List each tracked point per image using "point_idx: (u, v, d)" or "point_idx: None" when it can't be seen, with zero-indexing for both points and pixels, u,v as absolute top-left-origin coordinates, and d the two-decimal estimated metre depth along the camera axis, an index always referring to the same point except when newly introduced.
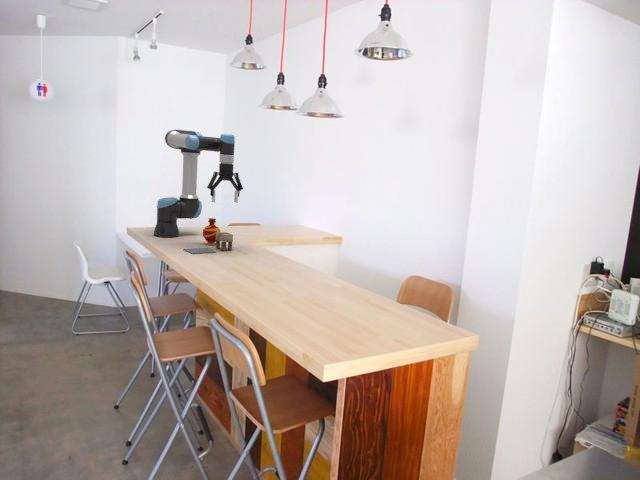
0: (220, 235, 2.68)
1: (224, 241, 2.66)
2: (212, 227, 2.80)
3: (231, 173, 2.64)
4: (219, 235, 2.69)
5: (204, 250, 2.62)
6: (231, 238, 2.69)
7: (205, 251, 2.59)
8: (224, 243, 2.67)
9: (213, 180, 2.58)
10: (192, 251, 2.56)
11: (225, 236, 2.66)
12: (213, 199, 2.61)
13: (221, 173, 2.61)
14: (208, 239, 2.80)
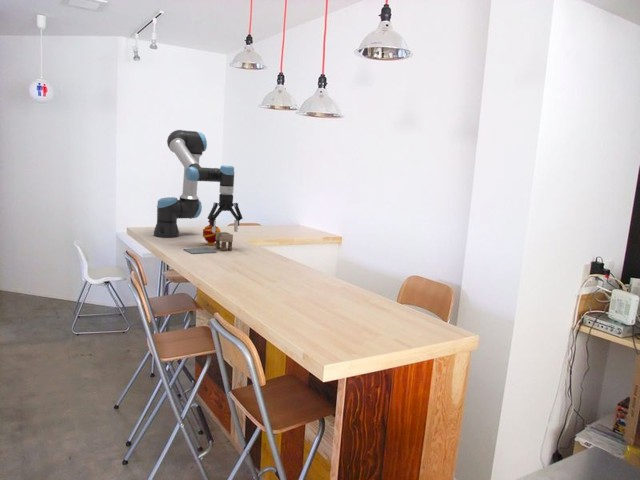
0: (220, 235, 2.68)
1: (224, 241, 2.66)
2: None
3: (231, 203, 2.68)
4: (219, 235, 2.69)
5: (204, 250, 2.62)
6: (231, 238, 2.69)
7: (205, 251, 2.59)
8: (224, 243, 2.67)
9: (213, 211, 2.63)
10: (192, 251, 2.56)
11: (225, 236, 2.66)
12: (213, 229, 2.65)
13: (221, 204, 2.65)
14: (208, 239, 2.80)
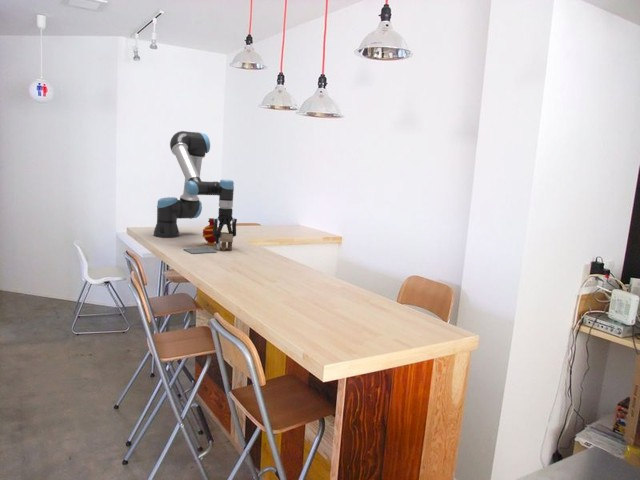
0: (220, 235, 2.68)
1: (224, 241, 2.66)
2: (212, 227, 2.80)
3: (230, 217, 2.70)
4: None
5: (204, 250, 2.62)
6: (231, 238, 2.69)
7: (205, 251, 2.59)
8: (224, 243, 2.67)
9: (215, 228, 2.65)
10: (192, 251, 2.56)
11: (225, 236, 2.66)
12: (218, 246, 2.69)
13: (220, 218, 2.66)
14: (208, 239, 2.80)
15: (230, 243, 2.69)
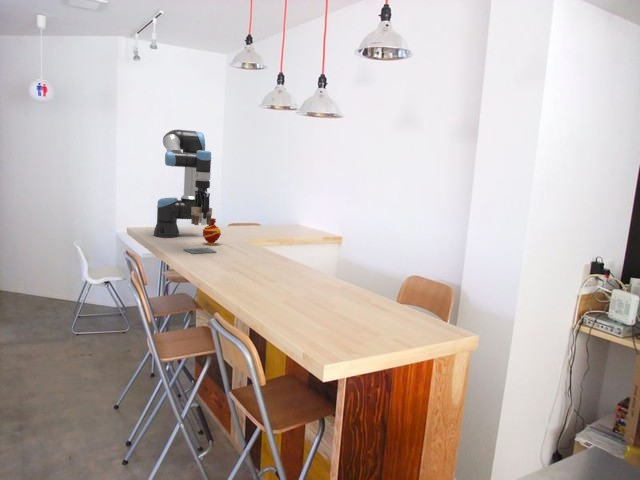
0: None
1: (192, 213, 2.57)
2: (212, 227, 2.80)
3: (202, 190, 2.53)
4: None
5: (204, 250, 2.62)
6: (195, 212, 2.53)
7: (205, 251, 2.59)
8: (192, 216, 2.57)
9: (195, 199, 2.61)
10: (192, 251, 2.56)
11: (192, 208, 2.56)
12: None
13: (197, 190, 2.58)
14: (208, 239, 2.80)
15: (195, 217, 2.54)
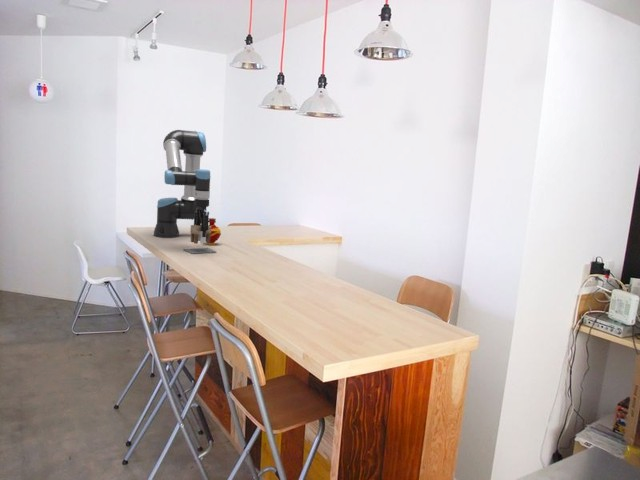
0: None
1: (191, 232, 2.58)
2: (212, 227, 2.80)
3: (202, 209, 2.55)
4: None
5: (204, 250, 2.62)
6: (194, 230, 2.55)
7: (205, 251, 2.59)
8: (191, 234, 2.59)
9: (194, 218, 2.62)
10: (192, 251, 2.56)
11: (191, 227, 2.58)
12: None
13: (197, 208, 2.59)
14: None
15: (194, 235, 2.56)
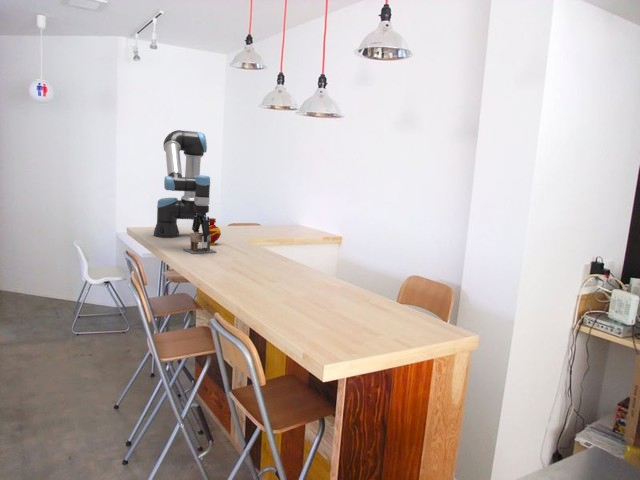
0: None
1: (191, 240, 2.59)
2: (212, 227, 2.80)
3: (201, 215, 2.55)
4: None
5: (204, 250, 2.62)
6: (194, 238, 2.56)
7: (205, 251, 2.59)
8: (191, 242, 2.59)
9: (193, 222, 2.64)
10: (192, 251, 2.56)
11: (191, 235, 2.58)
12: None
13: (196, 214, 2.60)
14: None
15: (194, 243, 2.57)
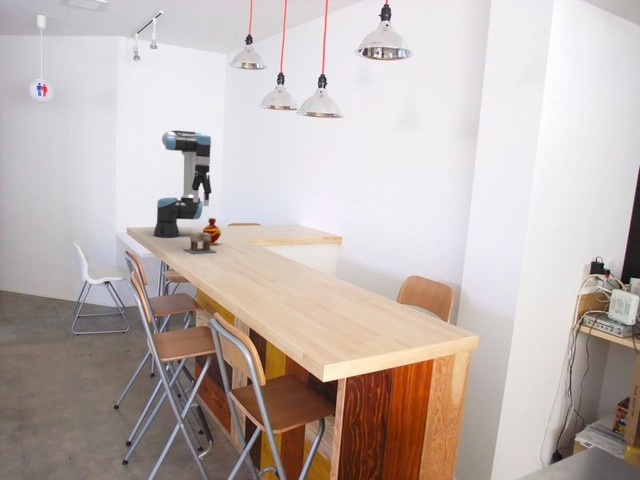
0: None
1: (191, 240, 2.59)
2: (212, 227, 2.80)
3: (202, 175, 2.57)
4: None
5: (204, 250, 2.62)
6: (194, 238, 2.56)
7: (205, 251, 2.59)
8: (191, 242, 2.59)
9: (193, 180, 2.65)
10: (192, 251, 2.56)
11: (191, 235, 2.58)
12: None
13: (197, 174, 2.61)
14: None
15: (194, 243, 2.57)
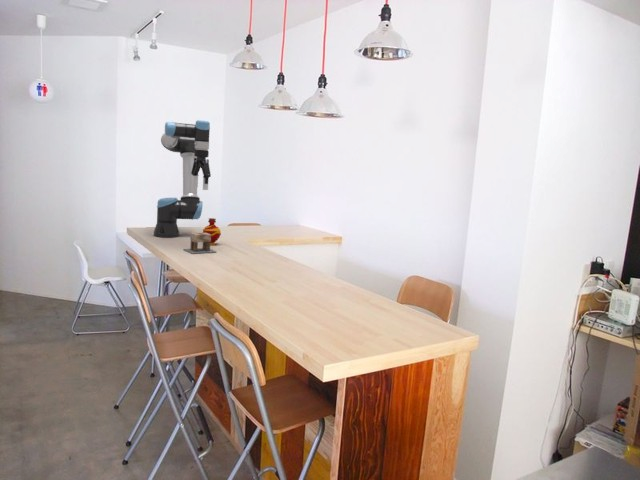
0: None
1: (191, 240, 2.59)
2: (212, 227, 2.80)
3: (201, 159, 2.62)
4: None
5: (204, 250, 2.62)
6: (194, 238, 2.56)
7: (205, 251, 2.59)
8: (191, 242, 2.59)
9: (193, 166, 2.71)
10: (192, 251, 2.56)
11: (191, 235, 2.58)
12: (193, 184, 2.72)
13: (196, 159, 2.67)
14: None
15: (194, 243, 2.57)
